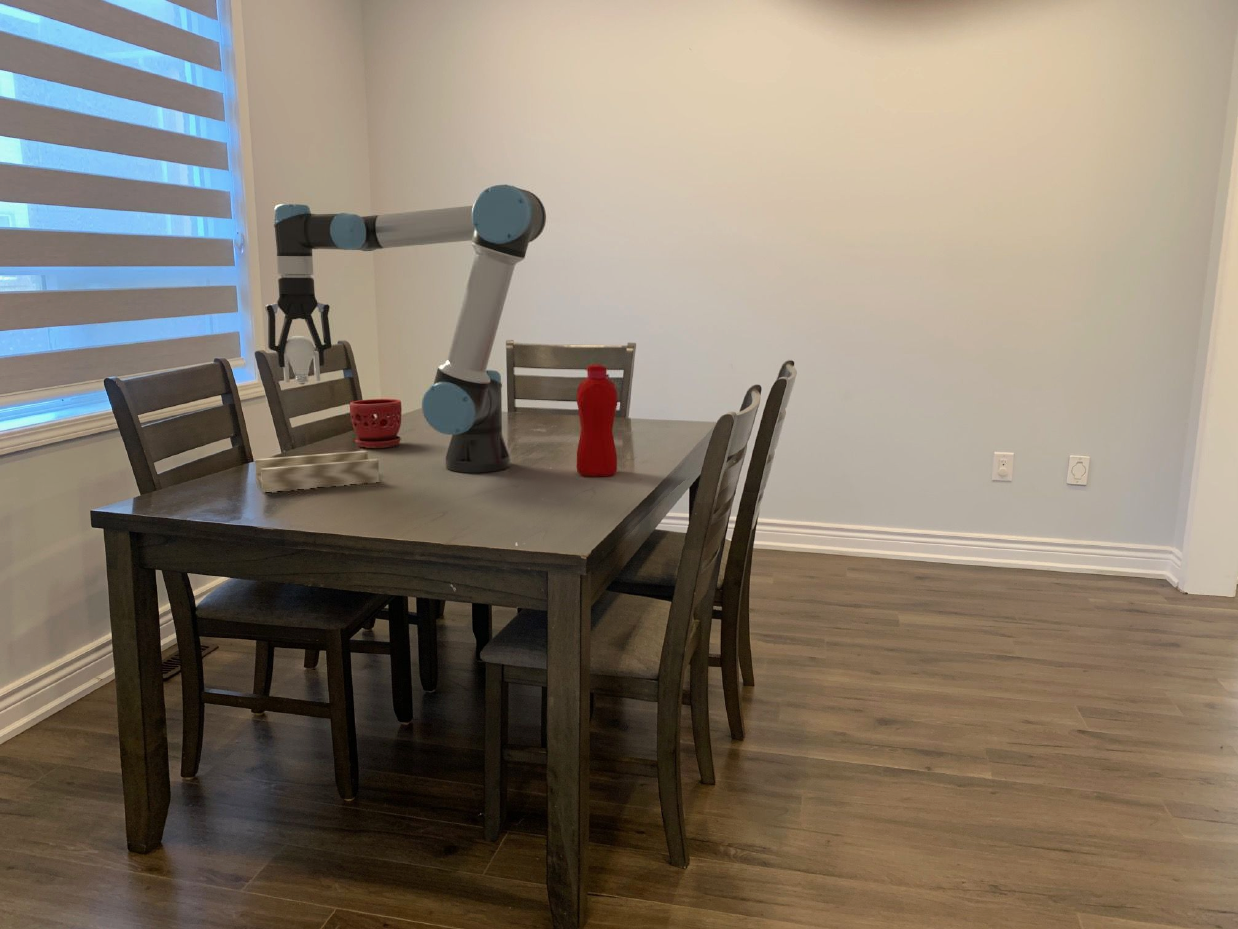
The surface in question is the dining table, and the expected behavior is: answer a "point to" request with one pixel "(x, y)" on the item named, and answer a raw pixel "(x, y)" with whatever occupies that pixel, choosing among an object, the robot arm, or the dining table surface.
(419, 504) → the dining table surface
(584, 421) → the water bottle
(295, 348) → the light bulb
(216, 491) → the dining table surface
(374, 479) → the beige chevron holder
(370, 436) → the plant pot
